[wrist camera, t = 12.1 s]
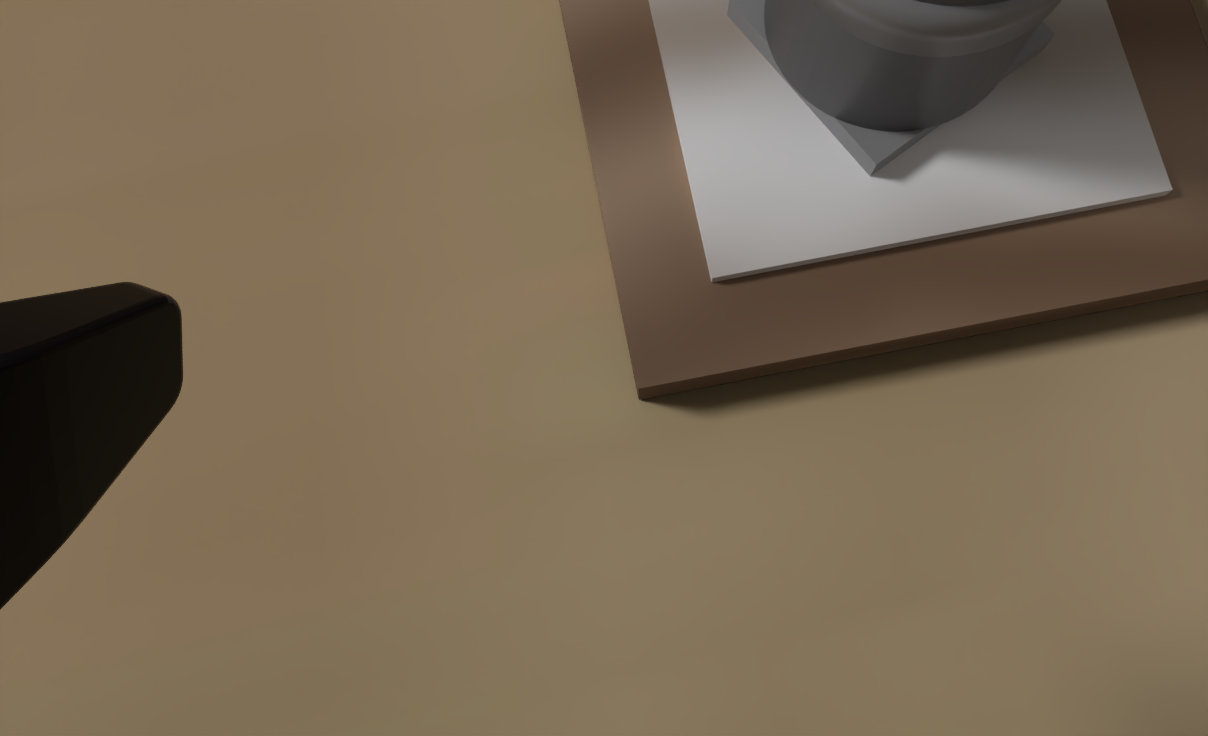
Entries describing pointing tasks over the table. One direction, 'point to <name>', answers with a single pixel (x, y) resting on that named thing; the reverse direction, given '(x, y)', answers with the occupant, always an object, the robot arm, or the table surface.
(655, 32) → the mount board
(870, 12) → the grey tall rounded piece
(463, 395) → the table surface
